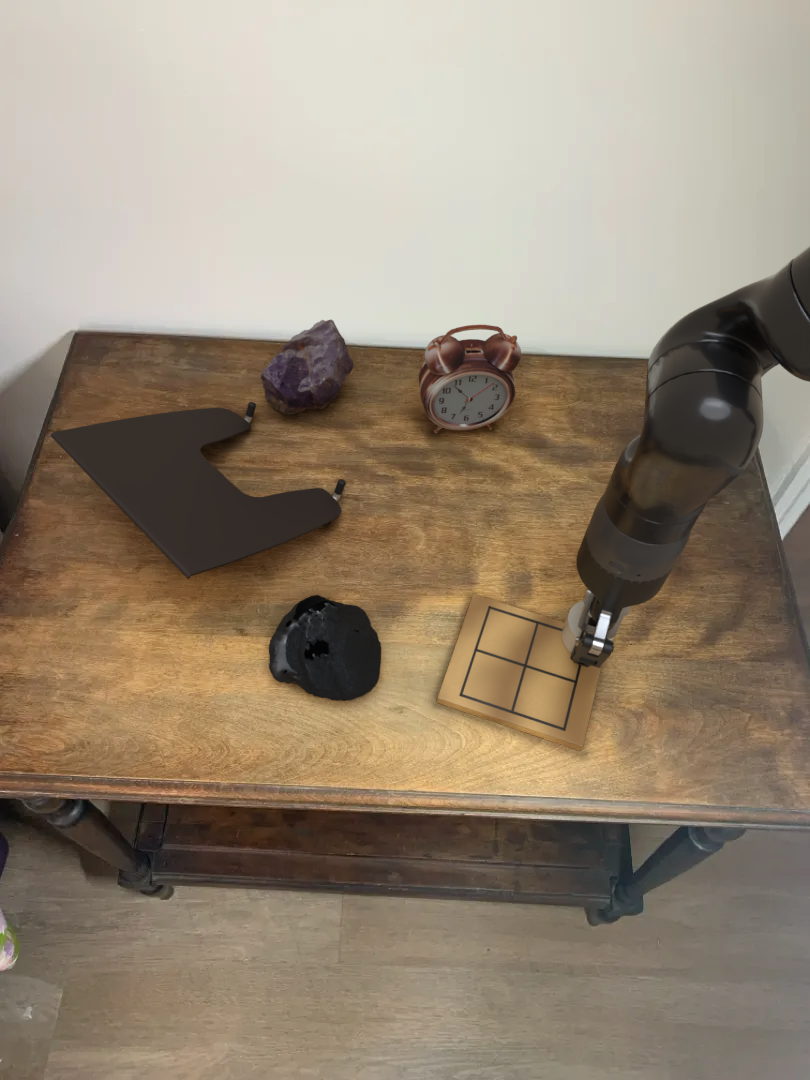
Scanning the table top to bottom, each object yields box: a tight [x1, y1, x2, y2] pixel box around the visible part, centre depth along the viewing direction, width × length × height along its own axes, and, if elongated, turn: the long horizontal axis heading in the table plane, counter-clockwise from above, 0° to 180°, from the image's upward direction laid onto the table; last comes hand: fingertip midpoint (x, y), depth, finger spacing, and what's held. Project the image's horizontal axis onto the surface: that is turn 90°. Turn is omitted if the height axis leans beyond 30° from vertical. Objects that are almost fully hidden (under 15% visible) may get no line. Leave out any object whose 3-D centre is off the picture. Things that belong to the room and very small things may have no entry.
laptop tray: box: [50, 401, 347, 580], centre depth 86 cm, size 23×23×9 cm
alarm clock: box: [418, 324, 522, 434], centre depth 91 cm, size 11×5×15 cm, turn 97°
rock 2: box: [268, 594, 382, 702], centre depth 78 cm, size 9×10×10 cm
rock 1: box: [260, 319, 355, 416], centre depth 95 cm, size 12×9×10 cm
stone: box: [562, 599, 615, 652], centre depth 79 cm, size 5×5×3 cm
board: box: [436, 593, 603, 751], centre depth 79 cm, size 14×12×1 cm
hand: (587, 634), depth 80 cm, fingers open, 5 cm apart
